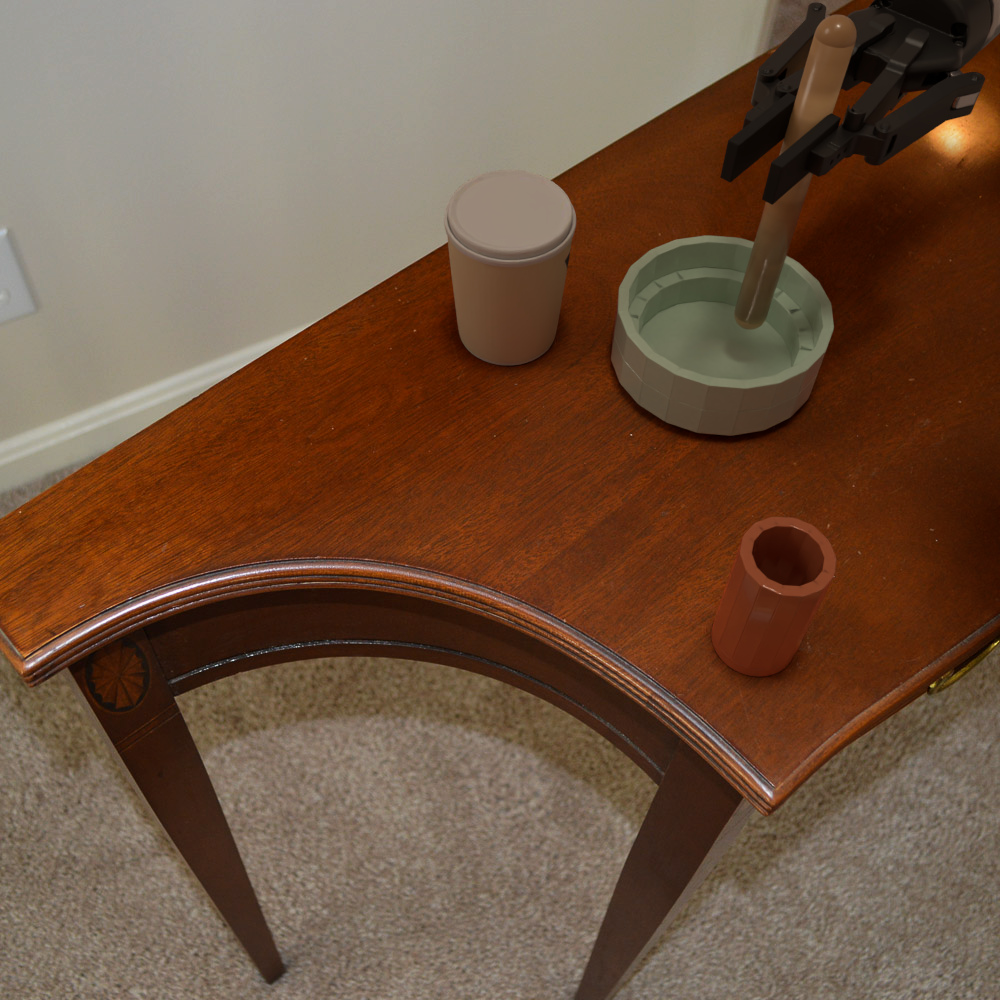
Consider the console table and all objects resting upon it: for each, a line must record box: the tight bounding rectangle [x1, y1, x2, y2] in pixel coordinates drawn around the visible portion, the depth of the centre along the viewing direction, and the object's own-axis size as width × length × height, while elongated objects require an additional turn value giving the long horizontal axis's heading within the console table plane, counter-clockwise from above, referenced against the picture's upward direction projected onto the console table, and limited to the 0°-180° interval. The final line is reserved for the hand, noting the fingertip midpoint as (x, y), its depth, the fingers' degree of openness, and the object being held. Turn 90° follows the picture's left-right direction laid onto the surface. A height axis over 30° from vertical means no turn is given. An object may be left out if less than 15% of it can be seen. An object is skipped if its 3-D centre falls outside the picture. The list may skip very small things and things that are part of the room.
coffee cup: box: [443, 169, 577, 367], centre depth 81 cm, size 9×9×12 cm
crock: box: [710, 516, 837, 678], centre depth 66 cm, size 5×6×10 cm
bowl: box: [610, 234, 835, 437], centre depth 82 cm, size 16×16×6 cm
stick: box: [734, 14, 857, 330], centre depth 72 cm, size 2×2×24 cm
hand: (750, 172), depth 65 cm, fingers closed on stick, 2 cm apart
